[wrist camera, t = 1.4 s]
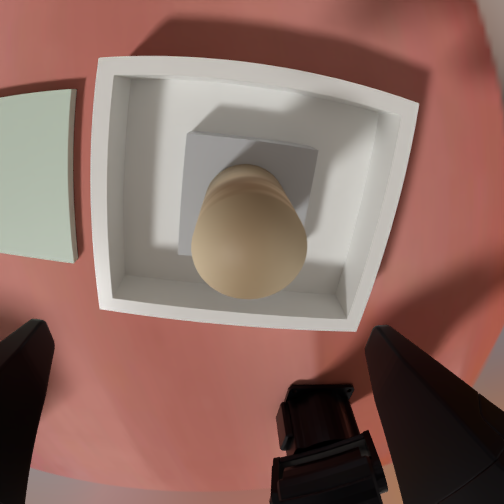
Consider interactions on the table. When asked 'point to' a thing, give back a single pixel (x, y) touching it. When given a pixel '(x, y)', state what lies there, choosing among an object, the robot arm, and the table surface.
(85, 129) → the table surface
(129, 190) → the tray
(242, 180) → the birch cylinder
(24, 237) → the green pad
